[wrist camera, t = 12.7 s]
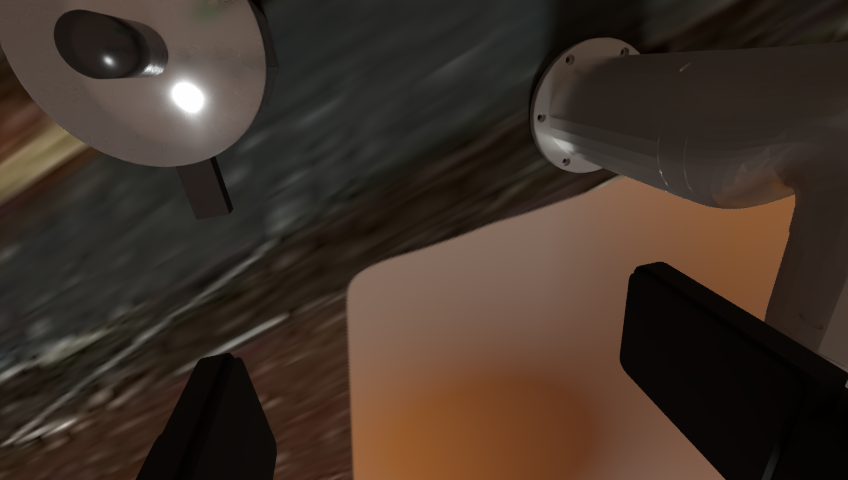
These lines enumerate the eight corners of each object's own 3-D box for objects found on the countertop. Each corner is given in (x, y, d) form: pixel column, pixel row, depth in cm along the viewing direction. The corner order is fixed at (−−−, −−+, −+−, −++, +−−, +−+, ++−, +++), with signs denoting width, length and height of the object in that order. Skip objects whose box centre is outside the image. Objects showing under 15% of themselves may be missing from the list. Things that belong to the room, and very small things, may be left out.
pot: (21, -127, 26) (-104, -204, 18) (227, -140, 27) (185, -215, 20) (161, 202, 35) (115, 236, 28) (307, 178, 37) (298, 205, 30)
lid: (227, -102, 22) (190, -158, 17) (292, 146, 28) (280, 165, 22) (-51, -81, 20) (-194, -135, 15) (80, 178, 26) (12, 207, 21)
